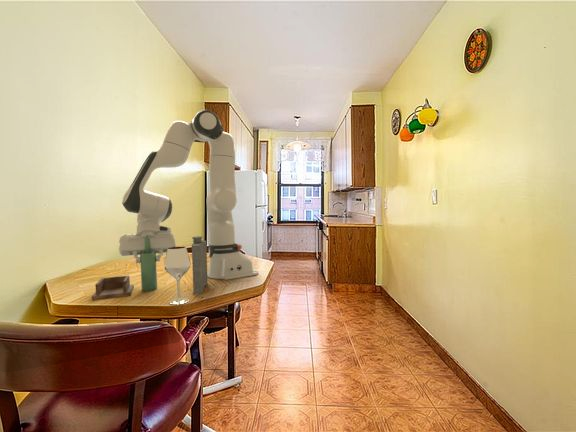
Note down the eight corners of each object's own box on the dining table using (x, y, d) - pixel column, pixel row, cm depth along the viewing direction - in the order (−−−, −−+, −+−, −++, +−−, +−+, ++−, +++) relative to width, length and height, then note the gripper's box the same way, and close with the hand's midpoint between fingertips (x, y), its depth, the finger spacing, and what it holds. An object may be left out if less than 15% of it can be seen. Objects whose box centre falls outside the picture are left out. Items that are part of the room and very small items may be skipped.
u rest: (133, 287, 123) (133, 274, 123) (130, 295, 112) (129, 281, 112) (98, 291, 119) (98, 277, 118) (91, 299, 107) (91, 285, 107)
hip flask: (201, 294, 111) (199, 238, 110) (190, 294, 110) (188, 239, 110) (208, 283, 127) (206, 234, 126) (198, 283, 126) (196, 234, 125)
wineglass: (183, 306, 98) (181, 249, 97) (160, 305, 99) (158, 249, 99) (196, 298, 106) (194, 246, 105) (174, 297, 107) (172, 246, 107)
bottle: (157, 286, 123) (155, 236, 122) (157, 290, 118) (154, 237, 117) (142, 288, 121) (139, 237, 120) (141, 291, 116) (138, 238, 115)
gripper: (118, 230, 121) (116, 259, 113) (174, 227, 129) (176, 254, 120) (120, 240, 126) (118, 268, 117) (174, 237, 133) (176, 263, 124)
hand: (148, 261), depth 118 cm, fingers closed on bottle, 5 cm apart
